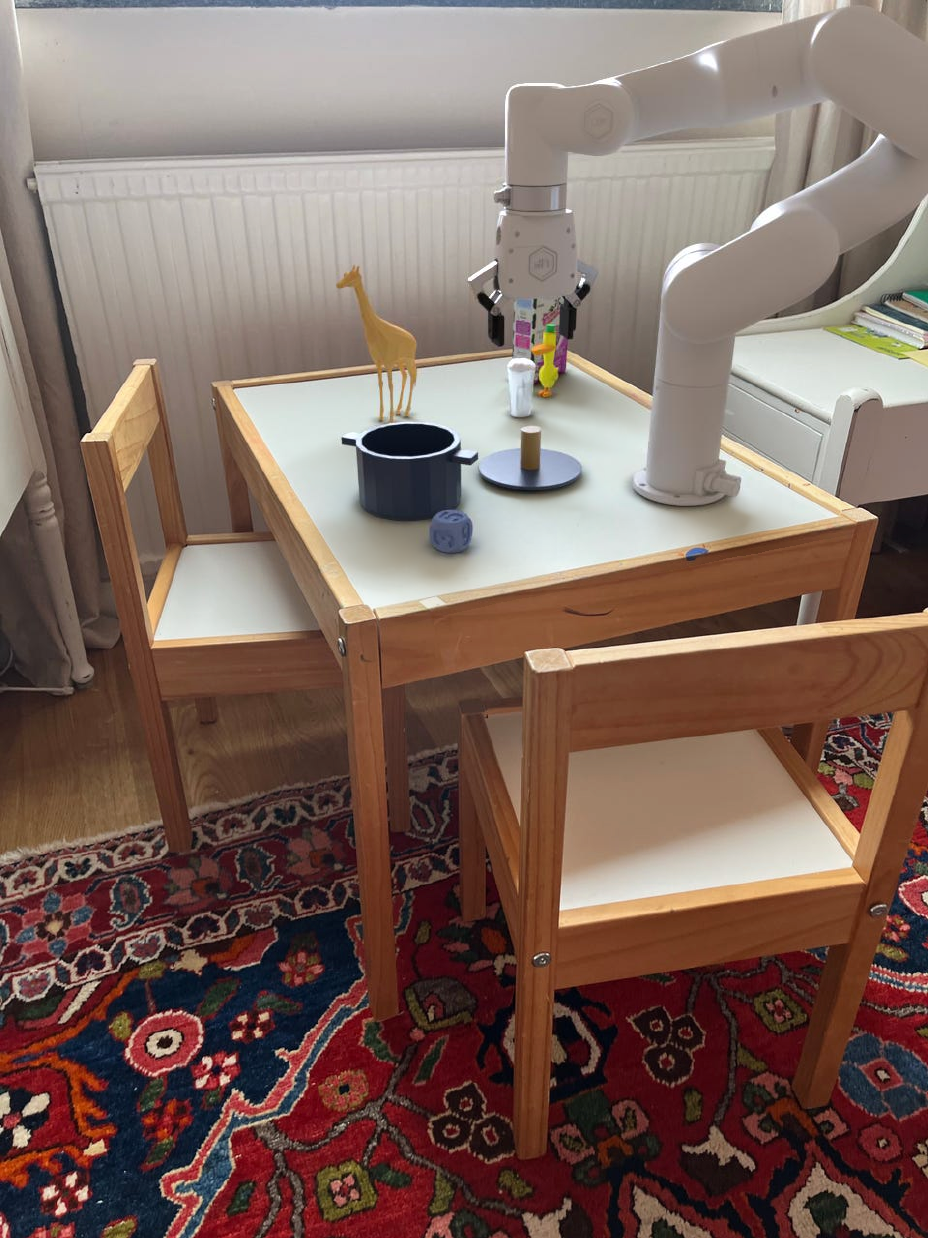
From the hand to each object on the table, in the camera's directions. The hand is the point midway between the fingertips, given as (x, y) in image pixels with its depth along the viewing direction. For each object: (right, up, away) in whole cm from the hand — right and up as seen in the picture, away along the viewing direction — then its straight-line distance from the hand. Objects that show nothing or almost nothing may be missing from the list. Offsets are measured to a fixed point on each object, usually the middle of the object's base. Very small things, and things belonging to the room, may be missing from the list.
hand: (532, 340), depth 127 cm
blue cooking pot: (-16, -20, +4) cm, 26 cm away
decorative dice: (-10, -28, -8) cm, 31 cm away
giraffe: (-22, -5, +31) cm, 38 cm away
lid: (0, -15, +11) cm, 19 cm away
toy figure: (+5, +2, +42) cm, 42 cm away
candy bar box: (+5, +8, +51) cm, 52 cm away
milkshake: (+1, -3, +33) cm, 33 cm away
